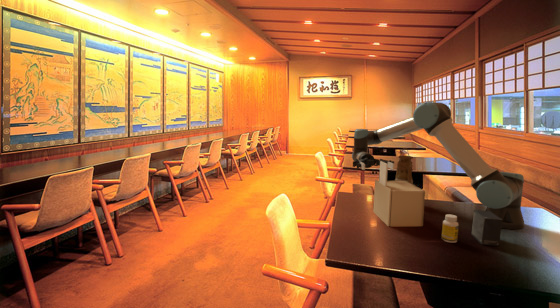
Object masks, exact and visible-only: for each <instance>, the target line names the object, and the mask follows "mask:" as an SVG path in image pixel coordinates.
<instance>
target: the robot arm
mask: <svg viewBox="0 0 560 308" xmlns="http://www.w3.org/2000/svg"><path fill="white" fill-rule="evenodd" d="M420 130H424V131H425V133H427V134H428V135H429V136H430V137H435V138H436V139H437V141H438V142H439V144H441V145H442V147H443V148H444V149H445V150H446V151H447V152H448V154H449V155H450V156H451V157H452V159H453V160H454V161H455V162H456V163H457V165H459V167H460V168H461V170H463V172H465V175H467V177H468V178H469V179H470V180H471V183H470V186H471V187H472V188H473V189H474V191H475V195H476V197H477V200H478V202H479V203H480V204H482V206H484V207H486V208H485V210H484V211H490V212H492V213H493V214H495V215H496V216H498V217H499V218H501V219H502V225H501V229H506V230H508V229H509V230H520V229H521V230H522V229H523V228H525V220H524V216H523V212H522V208H521V207H522V198H523V191H524V190H523V189H524V188H523V187H524V183H525V180H524V174H521V173H515V172H509V171H506V172H505V171H499V170H498V169H497V168H493V167H491V166H489V164H488V163H487V162H486V161H485V159H483V158H482V157H481V155H479V153H478V152H477V150H475V148H474V147H473V146H471V144H470V143H469V142H468V141H467V140H466V139H465V138H464V136H463V135H462V134H461V133H460V132H459V131H458V129H457V128H456V127H455V126H454V125H453V118H452V110H451V109H450V107H449V106H448V105H447V104H446V103H443V102H434V101H427V102H423V103H420V104H418V105H417V107H416V108H414V111H413V114H412V117H411V116H410V117H409V118H407V119H403V120H401V121H398V122H395V123H393V124H390V125H387V126H383V127H381V128H379V129H376V130H373V131H369V129H366V128H356V129H355V130H354V133H353V135H354V136H353V152H352V153H351V159H352V167H353V168H355V167H356V169H357V170H358V169H361V170H362V171H365V170H366V169H370V168H371V167H373V166H374V167H378V166H379V167H380V161H382V162H384V163H387V164H388V169H390V170H392V171H394V170H395V161H393V160H391V159H390V160H389V159H387V160H386V159H383V158H375V157H374V155H373V154H371V153H369V152H368V150H369V146H372V145H374V146H375V145H379V144H381V143H383V142H386V141H389V140H392V139H396V138H399V137H402V136H405V135H408V134H411V133H414V132H417V131H420Z"/></svg>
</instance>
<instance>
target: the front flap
mask: <svg viewBox="0 0 560 308" xmlns="http://www.w3.org/2000/svg"><path fill="white" fill-rule="evenodd" d="M388 169H389V168H388V164H387V163H384V162H382V161H380V166H379V177H378V179H375V180H374V193H373V194H374V195H373V210H372V211H373V212H372V213H374V214H375V215H376V216H377V217H378V218H379V219H380V220H381V221H382V222H383V224H385V225H386V226H387V227H390V208H391V191H392V190H391V189H390V188H388V187H387V181H388Z"/></svg>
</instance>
